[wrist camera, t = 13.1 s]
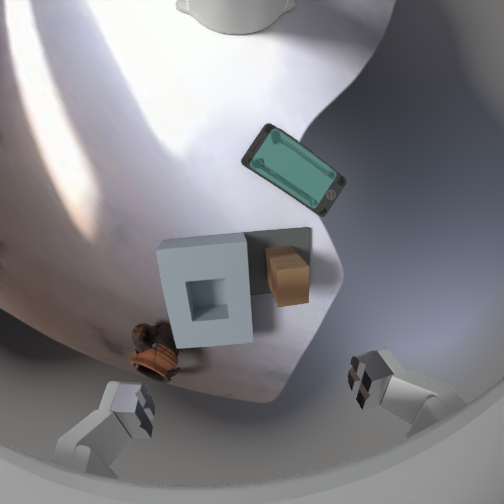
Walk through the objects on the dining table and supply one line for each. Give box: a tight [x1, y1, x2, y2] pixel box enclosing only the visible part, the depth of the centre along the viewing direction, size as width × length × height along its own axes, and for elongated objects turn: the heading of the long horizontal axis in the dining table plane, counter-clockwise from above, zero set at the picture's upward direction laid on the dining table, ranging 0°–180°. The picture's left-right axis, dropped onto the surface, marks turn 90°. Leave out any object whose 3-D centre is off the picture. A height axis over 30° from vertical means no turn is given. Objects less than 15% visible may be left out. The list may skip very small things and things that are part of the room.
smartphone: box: [241, 124, 346, 217], centre depth 38 cm, size 7×1×15 cm
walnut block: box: [265, 246, 309, 307], centre depth 37 cm, size 5×4×9 cm
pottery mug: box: [130, 324, 186, 383], centre depth 42 cm, size 12×10×8 cm
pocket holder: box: [156, 232, 253, 349], centre depth 40 cm, size 16×12×5 cm
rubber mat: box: [243, 227, 310, 295], centre depth 42 cm, size 10×10×1 cm
